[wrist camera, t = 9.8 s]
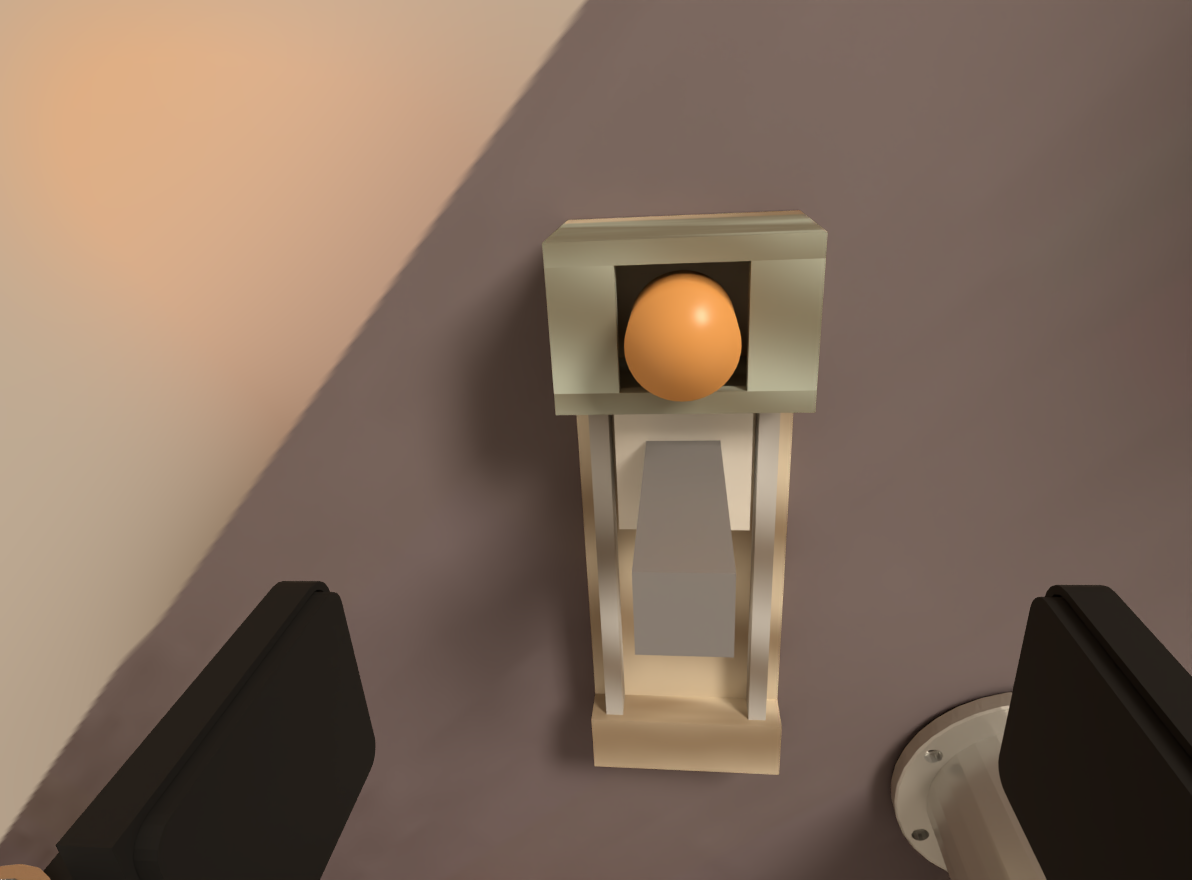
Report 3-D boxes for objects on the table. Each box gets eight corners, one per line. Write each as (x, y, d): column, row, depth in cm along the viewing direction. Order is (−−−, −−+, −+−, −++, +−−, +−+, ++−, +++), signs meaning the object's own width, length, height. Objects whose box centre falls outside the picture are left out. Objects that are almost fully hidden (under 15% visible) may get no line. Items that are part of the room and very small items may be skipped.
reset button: (734, 371, 26) (739, 401, 23) (632, 372, 27) (626, 402, 24) (736, 268, 25) (743, 286, 22) (628, 271, 25) (621, 290, 22)
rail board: (772, 728, 39) (786, 828, 33) (600, 721, 40) (587, 817, 34) (799, 210, 28) (827, 232, 23) (567, 219, 30) (542, 243, 24)
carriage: (744, 499, 32) (775, 689, 21) (623, 499, 32) (595, 683, 22) (747, 389, 30) (783, 538, 19) (619, 391, 30) (585, 536, 20)
